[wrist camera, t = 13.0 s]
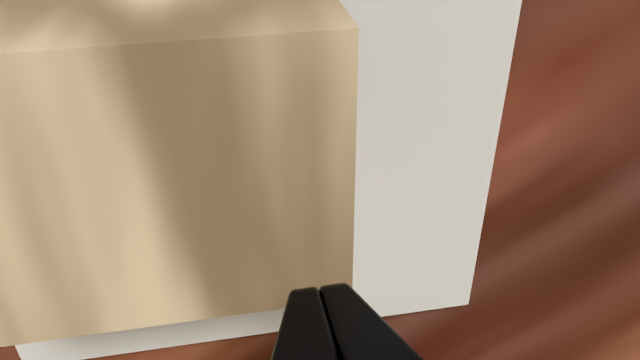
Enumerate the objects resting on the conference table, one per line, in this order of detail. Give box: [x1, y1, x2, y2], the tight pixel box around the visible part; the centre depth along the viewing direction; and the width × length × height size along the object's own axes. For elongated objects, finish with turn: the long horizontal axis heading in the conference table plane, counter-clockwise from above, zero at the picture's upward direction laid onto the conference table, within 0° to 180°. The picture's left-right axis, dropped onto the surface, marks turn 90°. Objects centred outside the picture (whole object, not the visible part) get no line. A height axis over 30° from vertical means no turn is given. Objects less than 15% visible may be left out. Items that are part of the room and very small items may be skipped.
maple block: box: [0, 0, 359, 347], centre depth 12 cm, size 4×6×8 cm
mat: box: [15, 0, 522, 360], centre depth 14 cm, size 14×16×1 cm
